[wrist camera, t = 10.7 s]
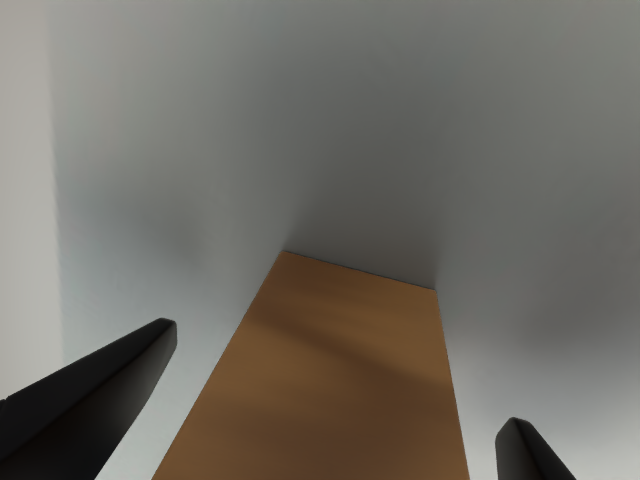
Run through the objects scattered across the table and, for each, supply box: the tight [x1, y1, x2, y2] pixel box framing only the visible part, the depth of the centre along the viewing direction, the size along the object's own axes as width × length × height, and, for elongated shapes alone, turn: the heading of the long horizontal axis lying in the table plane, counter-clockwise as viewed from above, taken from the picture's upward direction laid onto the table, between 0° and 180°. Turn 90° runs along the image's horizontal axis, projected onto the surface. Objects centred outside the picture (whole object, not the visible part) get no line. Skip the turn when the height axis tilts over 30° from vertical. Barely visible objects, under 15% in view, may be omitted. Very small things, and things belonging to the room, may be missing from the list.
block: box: [151, 251, 470, 480], centre depth 8 cm, size 4×4×7 cm
